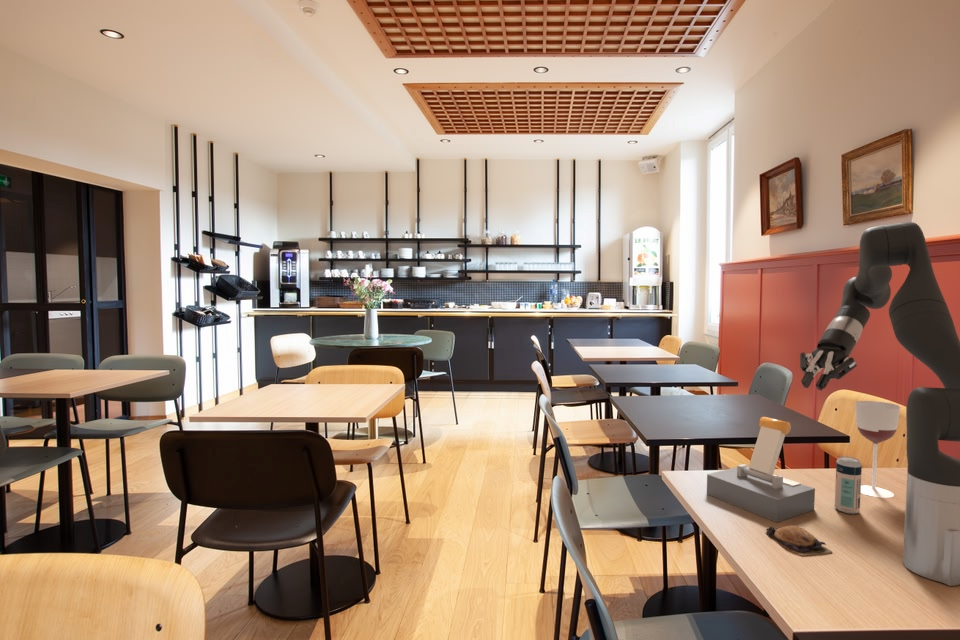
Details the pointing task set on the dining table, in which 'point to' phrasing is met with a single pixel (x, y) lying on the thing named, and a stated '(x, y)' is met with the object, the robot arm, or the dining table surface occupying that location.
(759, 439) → the breaker lever
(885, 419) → the wineglass
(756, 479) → the block
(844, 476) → the beer can
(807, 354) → the robot arm
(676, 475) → the dining table surface
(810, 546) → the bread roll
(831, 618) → the dining table surface
